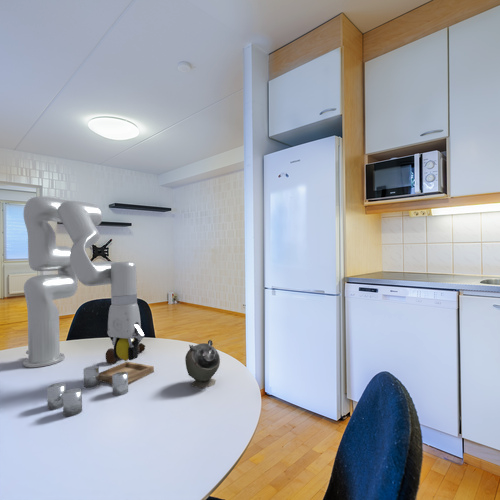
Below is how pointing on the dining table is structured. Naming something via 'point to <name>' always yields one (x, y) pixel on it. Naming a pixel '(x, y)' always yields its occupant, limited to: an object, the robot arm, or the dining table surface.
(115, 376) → the cylinder
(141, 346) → the bolt
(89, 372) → the cylinder
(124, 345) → the lemon
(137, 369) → the tray
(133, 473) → the dining table surface
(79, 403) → the cylinder
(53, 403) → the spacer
